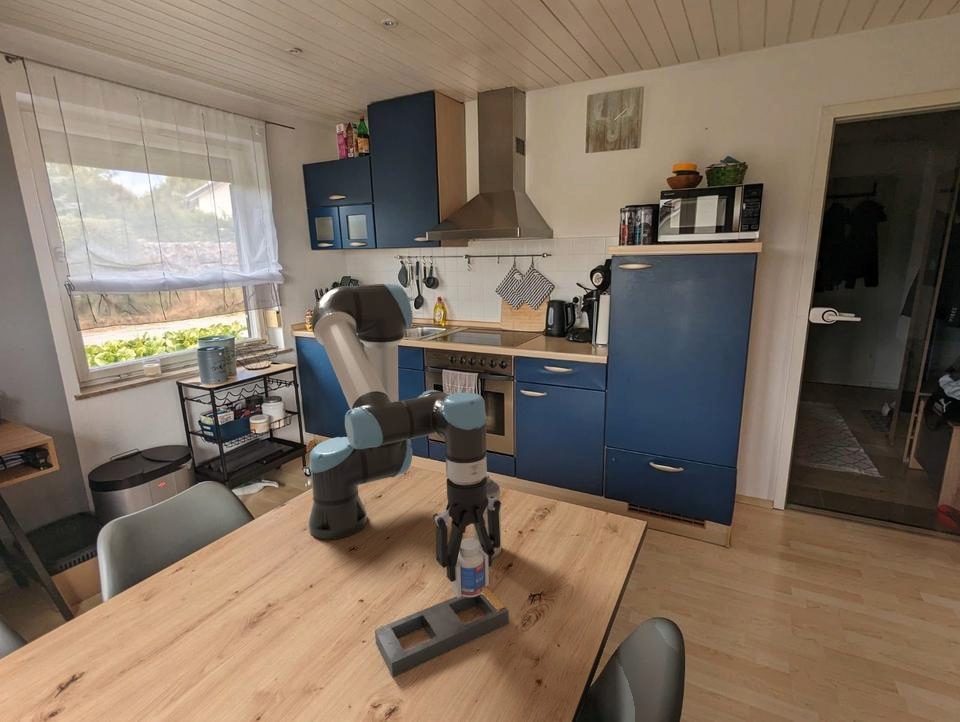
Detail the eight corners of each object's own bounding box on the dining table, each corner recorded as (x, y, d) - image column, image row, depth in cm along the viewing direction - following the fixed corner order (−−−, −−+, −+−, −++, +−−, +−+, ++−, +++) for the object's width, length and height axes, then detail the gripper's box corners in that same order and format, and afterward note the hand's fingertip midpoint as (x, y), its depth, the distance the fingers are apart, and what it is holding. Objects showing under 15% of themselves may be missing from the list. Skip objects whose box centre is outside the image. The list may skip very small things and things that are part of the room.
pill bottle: (481, 600, 92) (479, 553, 90) (453, 596, 93) (451, 550, 91) (486, 581, 97) (485, 537, 95) (460, 578, 98) (458, 534, 96)
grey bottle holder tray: (375, 643, 92) (374, 628, 91) (485, 597, 103) (484, 583, 103) (392, 677, 84) (391, 662, 83) (508, 623, 96) (508, 609, 95)
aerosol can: (504, 545, 122) (503, 471, 117) (496, 561, 115) (495, 483, 111) (478, 540, 124) (477, 467, 120) (469, 556, 118) (467, 479, 113)
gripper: (429, 498, 82) (435, 617, 87) (519, 472, 91) (520, 581, 96) (412, 481, 89) (418, 593, 94) (497, 458, 98) (499, 562, 103)
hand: (470, 587), depth 95 cm, fingers closed on pill bottle, 5 cm apart
